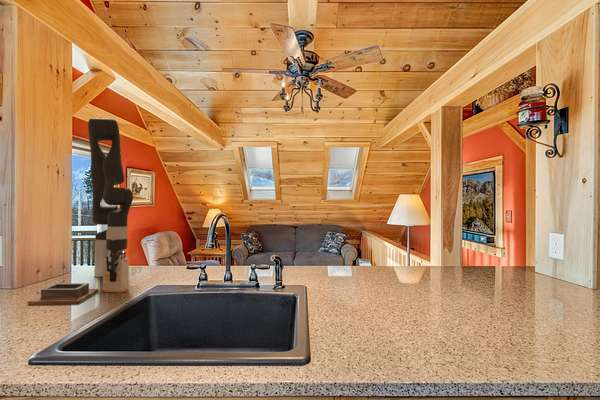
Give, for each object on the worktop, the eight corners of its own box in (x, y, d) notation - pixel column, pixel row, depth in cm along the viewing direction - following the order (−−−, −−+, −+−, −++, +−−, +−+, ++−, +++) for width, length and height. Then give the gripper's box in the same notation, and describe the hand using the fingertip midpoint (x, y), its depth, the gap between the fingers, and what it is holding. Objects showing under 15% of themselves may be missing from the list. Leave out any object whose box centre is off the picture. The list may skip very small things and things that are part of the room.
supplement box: (128, 290, 140) (129, 257, 140) (121, 293, 136) (122, 259, 136) (109, 288, 141) (110, 256, 141) (101, 292, 136) (102, 258, 136)
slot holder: (54, 292, 134) (54, 281, 134) (98, 291, 137) (98, 281, 137) (27, 304, 119) (28, 292, 119) (78, 304, 121) (78, 292, 121)
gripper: (114, 235, 145) (112, 276, 145) (99, 239, 131) (97, 284, 131) (133, 235, 146) (131, 276, 146) (120, 239, 132) (118, 284, 132)
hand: (115, 279), depth 138 cm, fingers closed on supplement box, 5 cm apart
